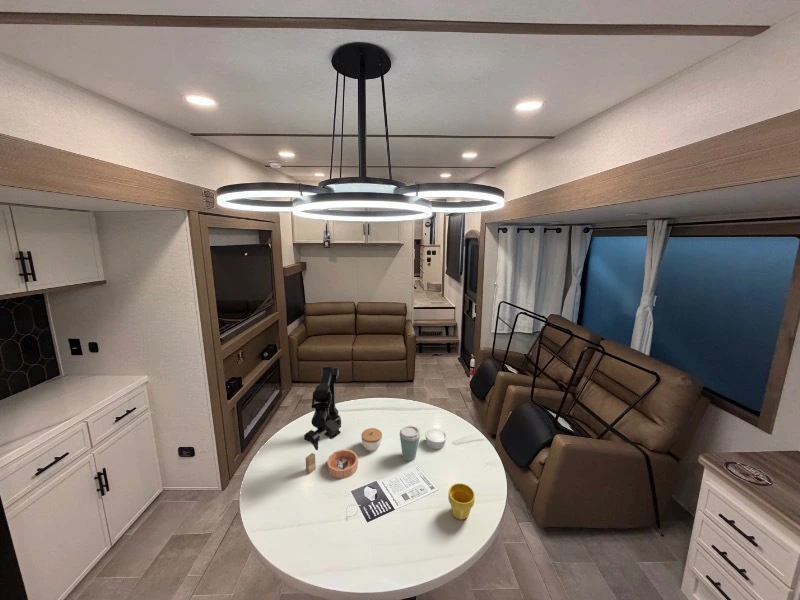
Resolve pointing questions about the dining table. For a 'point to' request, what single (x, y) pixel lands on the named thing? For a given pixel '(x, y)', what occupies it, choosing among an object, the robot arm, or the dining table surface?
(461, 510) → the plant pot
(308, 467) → the wooden plank piece
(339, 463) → the clip
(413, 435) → the disposable coffee cup
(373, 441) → the lidded jar
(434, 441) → the ramekin
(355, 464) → the faceted terracotta bowl
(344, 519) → the dining table surface
